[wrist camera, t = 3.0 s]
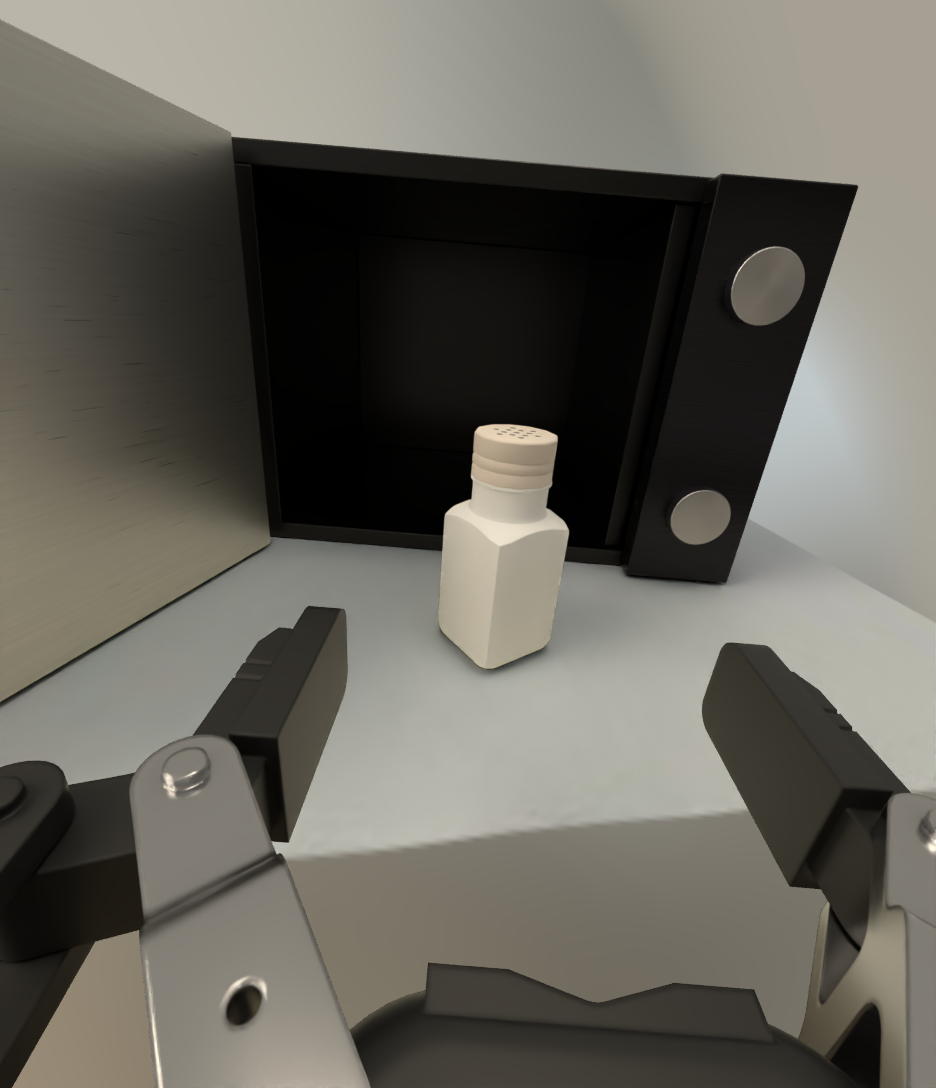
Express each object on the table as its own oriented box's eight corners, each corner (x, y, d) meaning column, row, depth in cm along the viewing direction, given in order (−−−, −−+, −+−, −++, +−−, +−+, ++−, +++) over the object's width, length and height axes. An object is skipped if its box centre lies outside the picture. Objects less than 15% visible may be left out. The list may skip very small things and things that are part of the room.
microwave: (731, 593, 29) (875, 173, 21) (250, 552, 29) (199, 117, 21) (625, 473, 51) (673, 248, 43) (353, 450, 51) (348, 220, 43)
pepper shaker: (483, 679, 20) (510, 449, 16) (432, 629, 23) (443, 424, 19) (554, 649, 23) (592, 441, 19) (498, 607, 25) (521, 419, 21)
